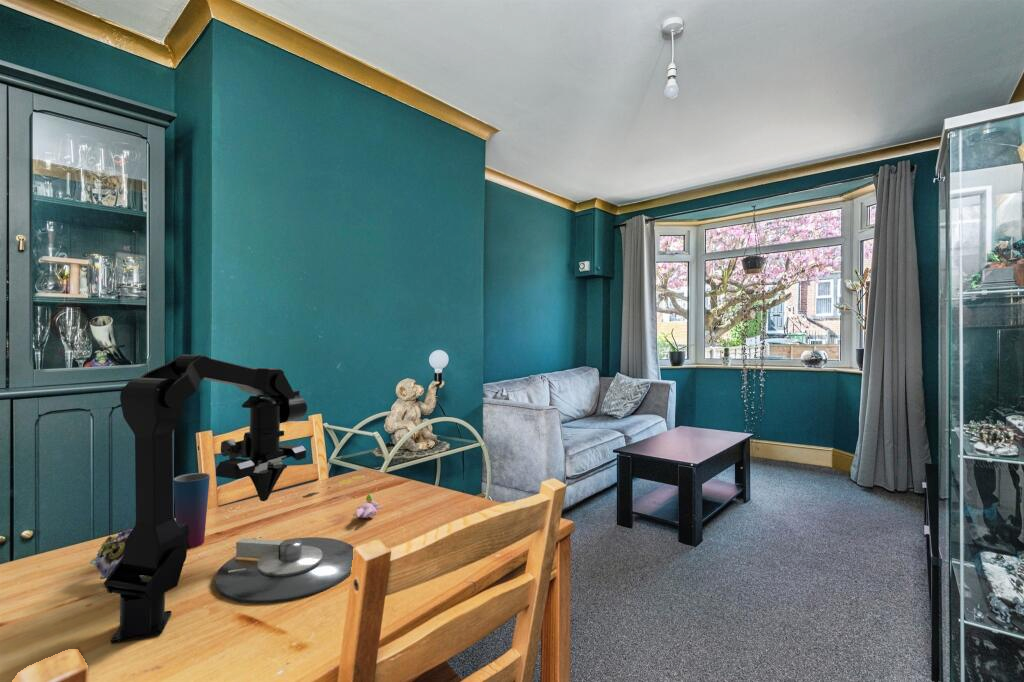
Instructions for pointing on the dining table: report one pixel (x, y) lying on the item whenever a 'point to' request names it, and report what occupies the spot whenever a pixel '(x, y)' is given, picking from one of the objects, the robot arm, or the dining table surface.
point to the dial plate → (254, 587)
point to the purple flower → (367, 508)
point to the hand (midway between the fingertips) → (263, 500)
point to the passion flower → (110, 554)
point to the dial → (279, 555)
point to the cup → (192, 504)
